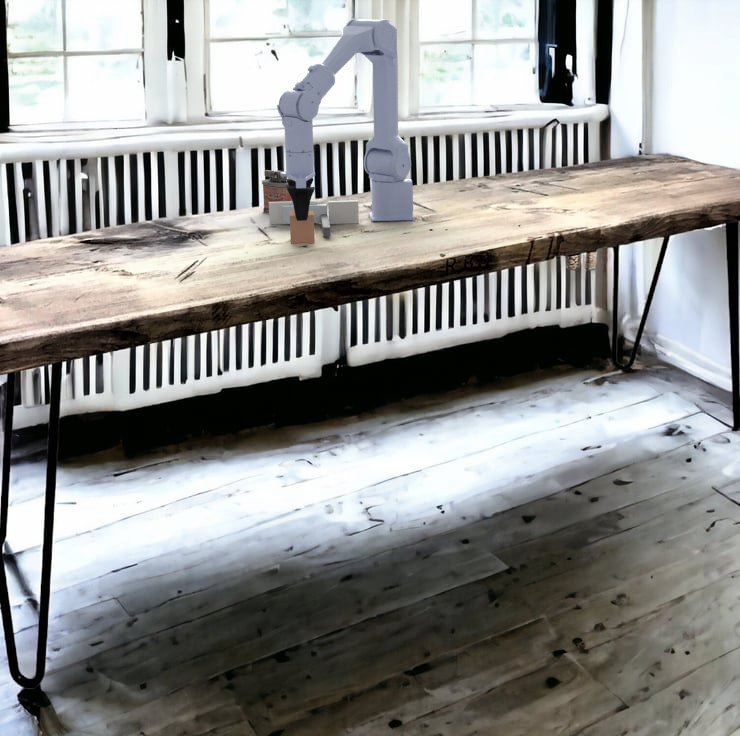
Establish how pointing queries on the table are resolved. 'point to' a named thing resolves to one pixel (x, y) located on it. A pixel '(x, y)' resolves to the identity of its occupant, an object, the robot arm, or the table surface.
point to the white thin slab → (337, 211)
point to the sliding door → (319, 216)
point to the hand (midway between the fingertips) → (301, 216)
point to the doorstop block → (302, 229)
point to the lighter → (275, 189)
